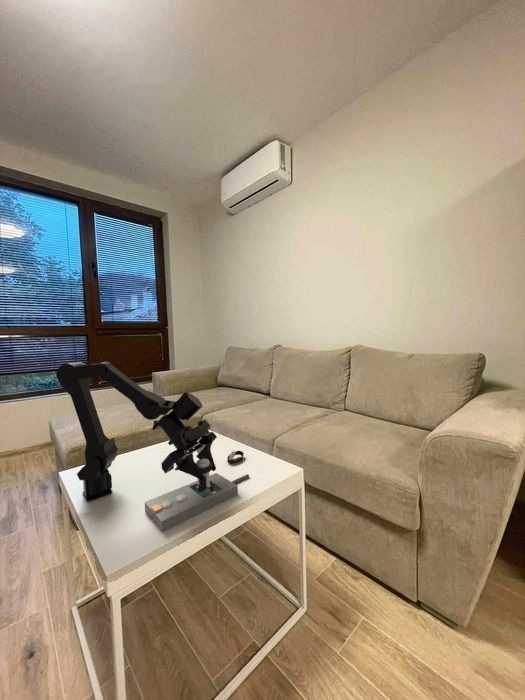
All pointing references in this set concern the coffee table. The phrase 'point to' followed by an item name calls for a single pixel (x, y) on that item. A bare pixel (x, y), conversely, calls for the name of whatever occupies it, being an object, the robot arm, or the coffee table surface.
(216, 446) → the coffee table surface
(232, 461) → the watch
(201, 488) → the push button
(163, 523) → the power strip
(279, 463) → the coffee table surface
